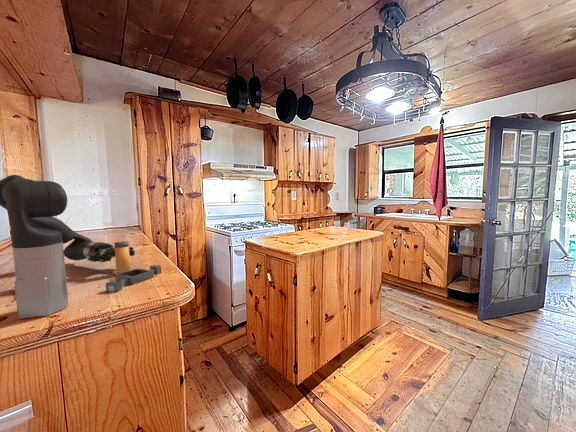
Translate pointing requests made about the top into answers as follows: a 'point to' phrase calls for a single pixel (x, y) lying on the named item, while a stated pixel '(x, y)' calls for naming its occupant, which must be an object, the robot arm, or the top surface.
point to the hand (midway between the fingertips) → (122, 255)
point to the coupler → (122, 256)
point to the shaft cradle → (132, 278)
